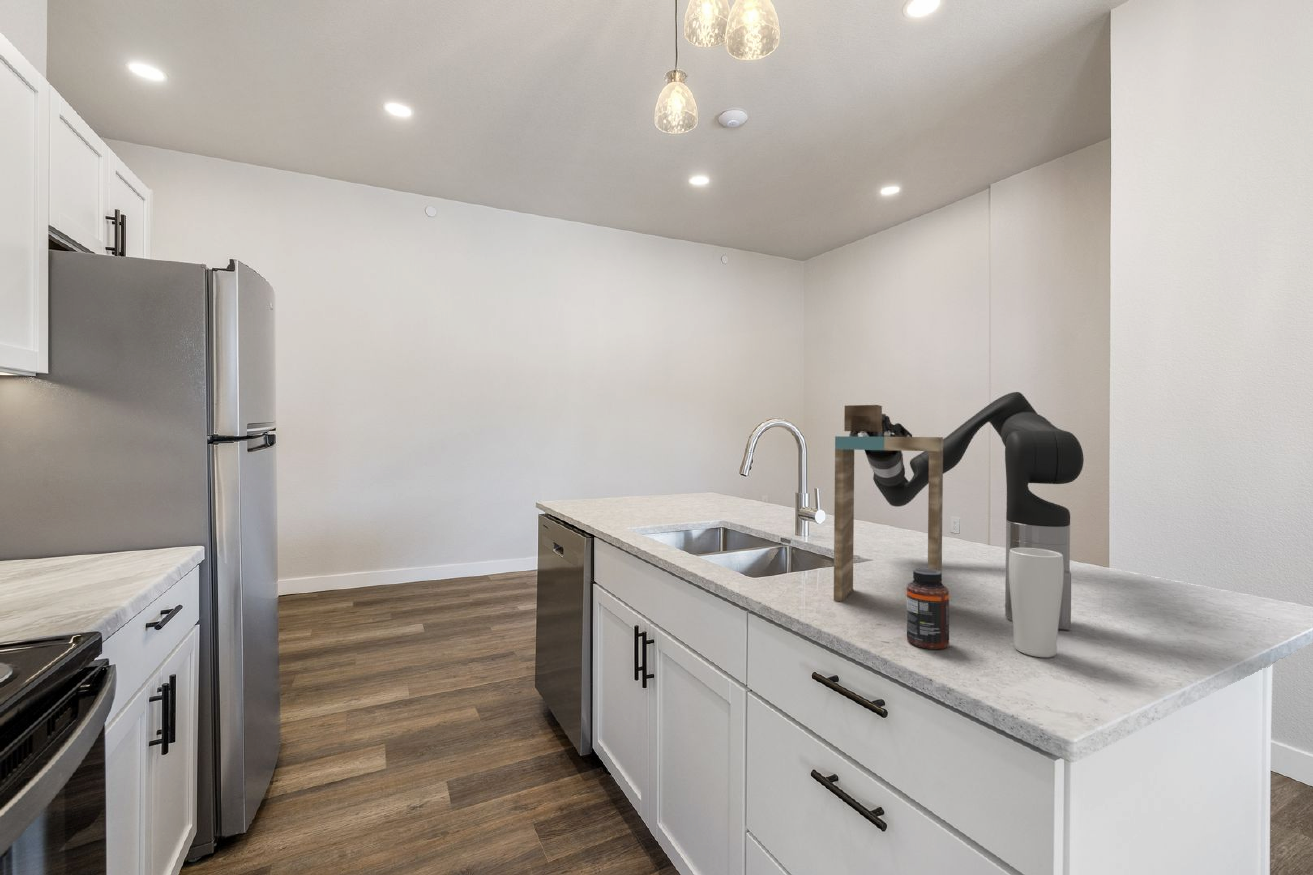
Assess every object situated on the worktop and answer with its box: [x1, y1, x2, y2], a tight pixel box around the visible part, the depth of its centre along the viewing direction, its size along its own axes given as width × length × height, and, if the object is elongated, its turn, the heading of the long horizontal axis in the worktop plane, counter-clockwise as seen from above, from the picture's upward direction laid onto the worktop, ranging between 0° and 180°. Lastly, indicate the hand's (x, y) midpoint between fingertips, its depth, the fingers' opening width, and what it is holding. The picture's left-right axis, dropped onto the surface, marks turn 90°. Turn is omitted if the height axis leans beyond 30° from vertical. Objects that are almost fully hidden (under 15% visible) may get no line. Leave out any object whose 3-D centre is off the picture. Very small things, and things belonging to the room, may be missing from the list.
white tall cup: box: [1009, 548, 1064, 659], centre depth 83 cm, size 7×7×15 cm
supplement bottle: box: [906, 567, 950, 650], centre depth 86 cm, size 6×6×11 cm
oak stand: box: [833, 435, 944, 602], centre depth 108 cm, size 18×10×32 cm, turn 58°
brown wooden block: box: [843, 404, 884, 432], centre depth 114 cm, size 6×18×5 cm, turn 148°
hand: (872, 417), depth 117 cm, fingers closed on brown wooden block, 3 cm apart
